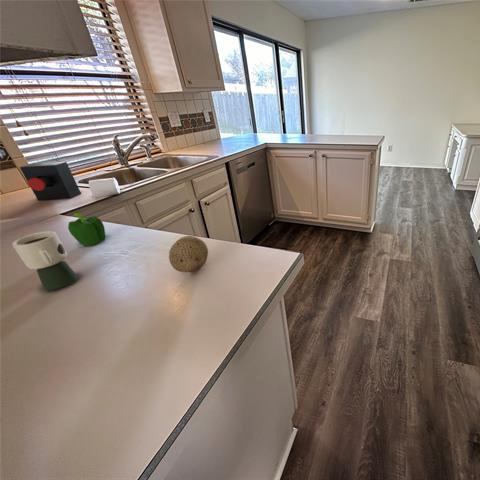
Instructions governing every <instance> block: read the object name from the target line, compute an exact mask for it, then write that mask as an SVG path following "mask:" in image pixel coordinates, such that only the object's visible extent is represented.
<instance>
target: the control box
mask: <svg viewBox="0 0 480 480" xmlns="http://www.w3.org/2000/svg"><path fill="white" fill-rule="evenodd" d="M19 169H20V171H21V172H22V174H23V176H24V178H25V180H26V182H27V183H28V181H29V179H32V178H41V177H47V178H49V179H50V180H51V184H50V185H48V186H46V187H45V189H43V190H41V191H36V190H34V189H32V188H31V187H30V188H31V191H32V192H33V194H34V196H35V198H36V200H37V201H38V202H43V201H44V202H45V201H57V200H71V199H74V198H76V197H77V196H80V195H82V192H81V190H80V188H79V185H78V183H77V181H76V179H75V177H74V175H73V173H72V171H71V169H70V166H69V164H68V162H67V161H53V162H52V161H51V162H37V163H35V162H34V163H30V164H26V165H22V166H19Z"/></svg>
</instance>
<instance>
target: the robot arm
mask: <svg viewBox="0 0 480 480" xmlns="http://www.w3.org/2000/svg"><path fill="white" fill-rule="evenodd" d="M3 156H4V157H5V156H6V153H5V151H4V150H3V149H0V160H2V159H4V157H3Z"/></svg>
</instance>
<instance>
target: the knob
mask: <svg viewBox="0 0 480 480" xmlns="http://www.w3.org/2000/svg"><path fill="white" fill-rule="evenodd" d="M27 184H28V187H29V188H32V189H34V190H36V191H41V190H43V189H45V187H46V186H48V185H50V184H51V180H50V179H49V178H47V177H41V178H32V179H29V181H28V182H27ZM32 189H31V190H32Z"/></svg>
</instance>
